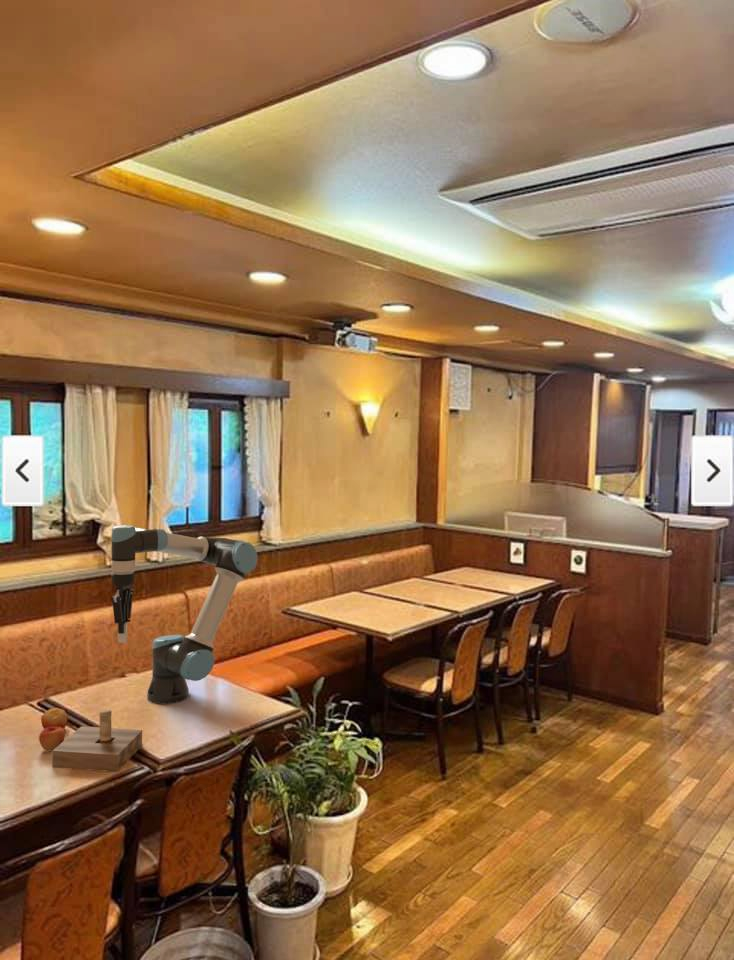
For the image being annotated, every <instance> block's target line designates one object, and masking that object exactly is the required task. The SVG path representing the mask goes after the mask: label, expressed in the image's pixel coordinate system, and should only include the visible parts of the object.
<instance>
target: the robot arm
mask: <svg viewBox="0 0 734 960" xmlns="http://www.w3.org/2000/svg"><path fill="white" fill-rule="evenodd" d="M110 538H111V539H110V542H111V562H110V565H111V572H112V573H111V574H110V577H111V579H110V584H111V585H113V586H115V590H114V595H113V596H111V598H110V599H111V603H112V610H113V612H112V613H113V620H114V624H117V643H121V644H122V643H123V644H127V643H128V623H130V622H131V617H132V607H133V599H134V594H135V589H133V588H132V585H135V583H136V572H135V571H136V554H142V553H149V552H156V553H162V554H169V555H175V556H180V557H181V556H182V557H188V558H193V560H195V561H197V562H202V563H205V564H208V565H212V566H214V570H215V573H216V575H215V577H214V579H213V582H212V584H211V586H210V589H209V591H208V593H207V596H206V598H205V600H204V603H203V605H202V606H201V609H200V611H199V614H198V616H197V618H196V621H195V623H194V625H193V627H192V629H191V632H190V633H189V634H188V635H185V636H184V635H182V634H169V635H163V636H162V635H161V636H159V637H157V638H155V639H154V640H153V641H152V642H153V643H152V648H151V650H152V665H151V666H152V667H151V668H152V676H151V680H150V683H149V686H148V689H147V691H146V694H147V695H146V699H147V700H148V701H149V702H151V703H155V704H162V705H165V704H174V703H180V702H181V701H184V700H186V699H188V698H189V696H190V695H189V694H190V693H189V692H190V691H189V690H190V689H189V687H188V683H187V680H188V681H193V682H196V681H197V682H198V681H202V680H203V679H205V678H207V676H208V675H210V673H211V672H212V670H213V668H214V665H215V657H214V654H213V652H214V649H215V647H214V644H213V641H214V639H215V636H216V634H217V632H218V630H219V628H220V625H221V622H222V620H223V618H224V615H225V613H226V610H227V608H228V606H229V604H230V602H231V600H232V597H233V595H234V592H235V590H236V587H237V584H238V583H240V582H241V581H244V580H245V577H246V575H247V574H248V573H251V572H253V571H254V570H255V568H256V567H257V564H258V559H259V558H258V557H259V556H258V552H257V549H256V547H255V545H253V544H252V543H250V542H247V541H244V540H238V539H231V538H227V537H207V536H198V537H193V536H192V537H191V536H188V535H181V534H175V533H170V532H167V531H166V530H165V529H163V528H154V529H149V528H143V527H139V526H135V525H130V524H129V525H127V524H126V525H124V524H123V525H116V526H114V527H112V530H111V537H110Z"/></svg>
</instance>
